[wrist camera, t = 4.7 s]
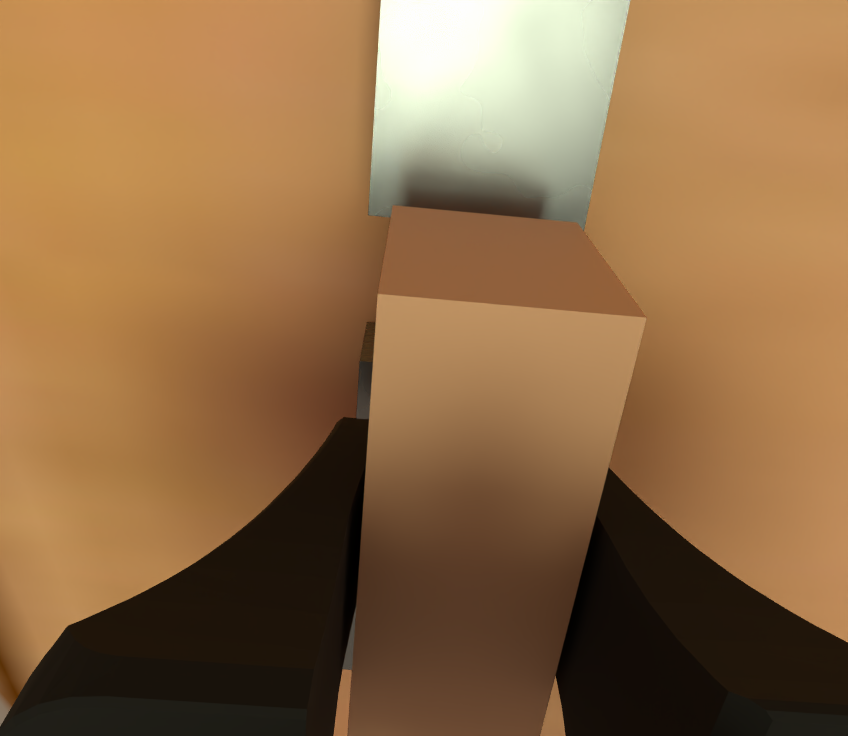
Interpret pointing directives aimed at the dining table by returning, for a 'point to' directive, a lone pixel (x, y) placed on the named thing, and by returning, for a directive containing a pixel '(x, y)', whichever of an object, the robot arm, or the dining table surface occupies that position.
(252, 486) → the dining table surface
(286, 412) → the dining table surface
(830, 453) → the dining table surface
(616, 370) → the tan rectangular block
